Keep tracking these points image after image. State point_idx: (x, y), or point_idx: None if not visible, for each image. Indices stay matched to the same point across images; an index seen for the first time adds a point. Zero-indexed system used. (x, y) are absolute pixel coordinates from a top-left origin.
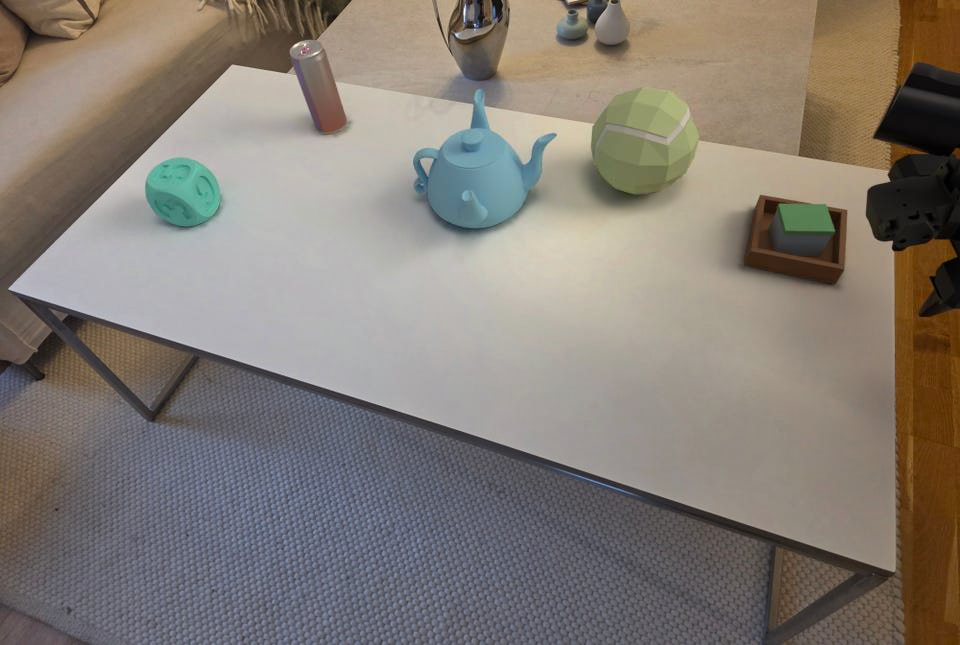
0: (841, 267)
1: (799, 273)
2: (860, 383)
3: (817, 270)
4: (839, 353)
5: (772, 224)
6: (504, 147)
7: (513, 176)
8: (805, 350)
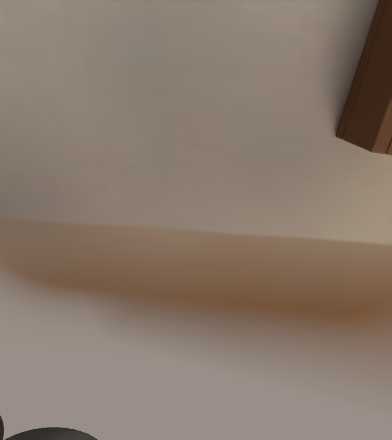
0: (379, 144)
1: (376, 37)
2: (27, 166)
3: (378, 82)
4: (114, 124)
5: None
6: None
7: None
8: (103, 28)
